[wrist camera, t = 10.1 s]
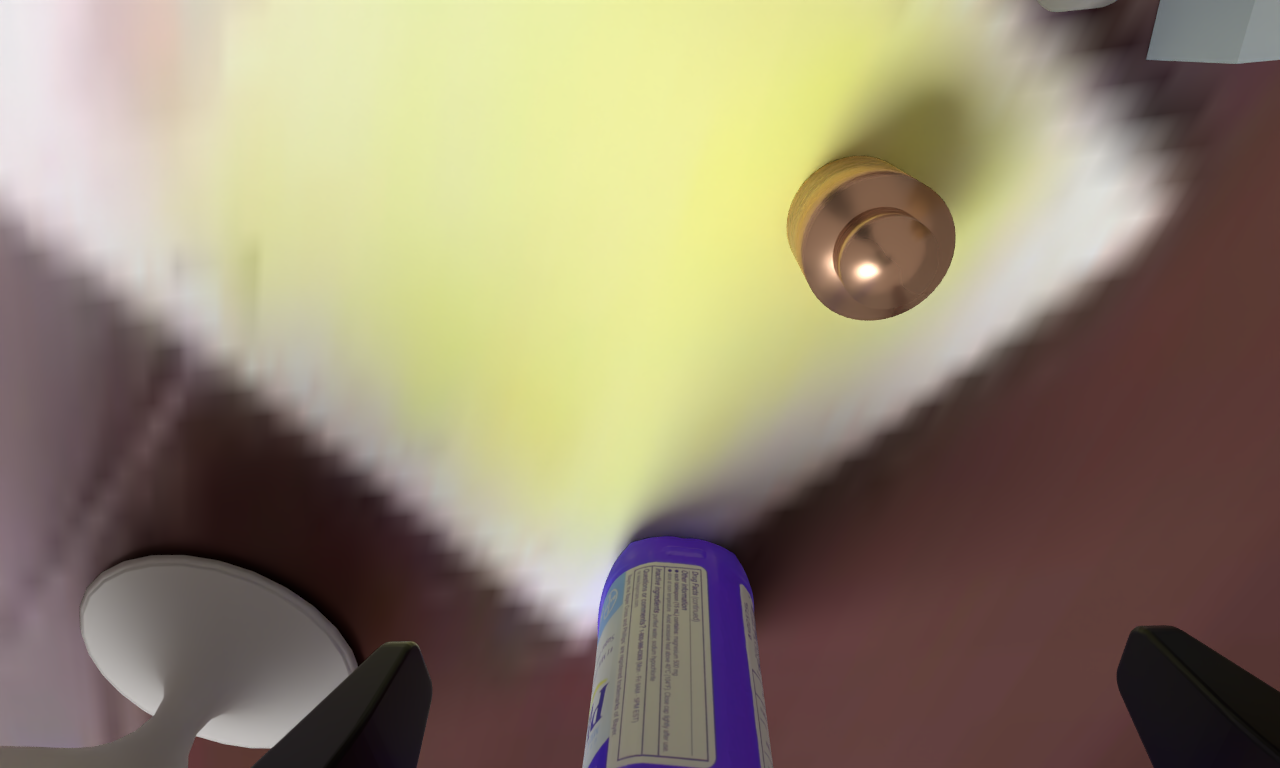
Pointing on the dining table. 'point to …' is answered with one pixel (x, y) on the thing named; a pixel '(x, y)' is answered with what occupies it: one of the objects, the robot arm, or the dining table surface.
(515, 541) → the dining table surface
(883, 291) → the cap
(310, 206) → the dining table surface
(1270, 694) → the robot arm
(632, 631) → the bottle
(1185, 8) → the valve
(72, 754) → the chalice
